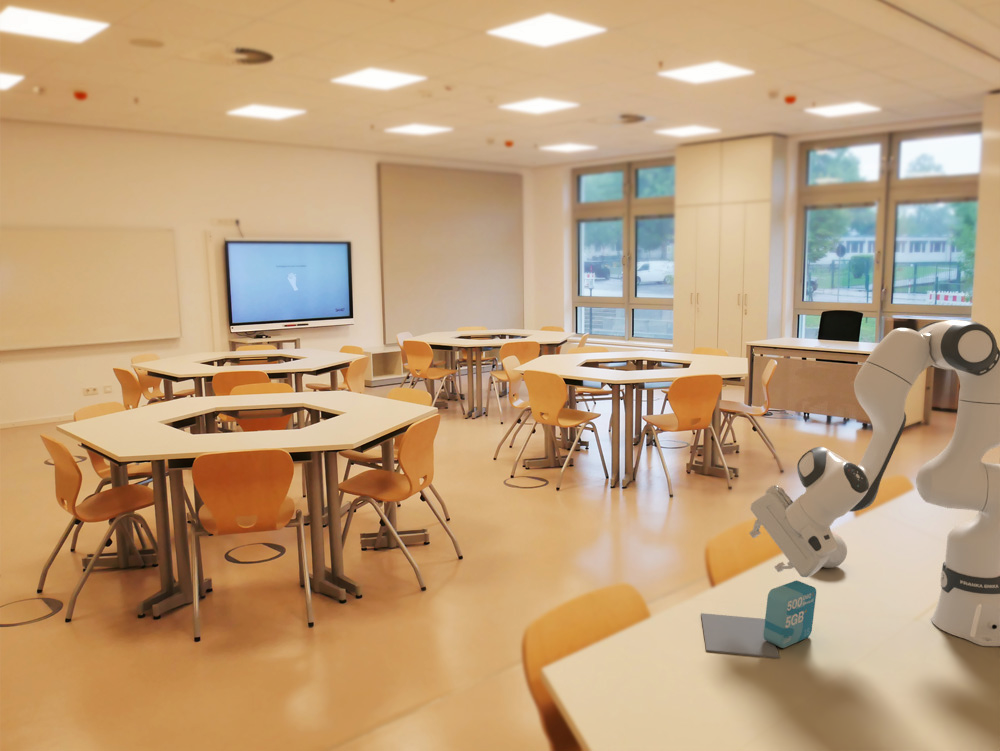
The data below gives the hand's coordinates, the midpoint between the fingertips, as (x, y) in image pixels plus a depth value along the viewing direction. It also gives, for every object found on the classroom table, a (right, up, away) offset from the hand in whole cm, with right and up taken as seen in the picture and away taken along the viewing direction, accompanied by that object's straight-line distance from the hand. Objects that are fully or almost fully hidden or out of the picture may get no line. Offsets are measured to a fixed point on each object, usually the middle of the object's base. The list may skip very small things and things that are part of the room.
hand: (764, 552), depth 182 cm
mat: (-9, -17, -8) cm, 21 cm away
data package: (+1, -17, -10) cm, 20 cm away
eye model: (+28, -12, +32) cm, 44 cm away
